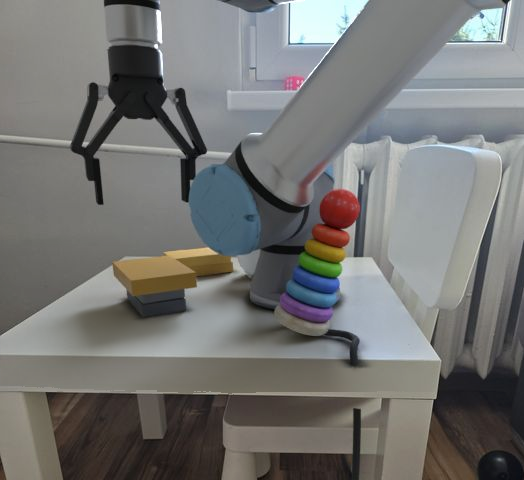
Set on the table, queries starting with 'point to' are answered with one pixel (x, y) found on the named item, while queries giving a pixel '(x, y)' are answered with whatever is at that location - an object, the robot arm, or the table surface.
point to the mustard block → (153, 275)
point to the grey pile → (159, 302)
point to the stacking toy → (319, 268)
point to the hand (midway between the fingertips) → (144, 202)
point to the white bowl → (249, 262)
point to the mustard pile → (202, 261)
